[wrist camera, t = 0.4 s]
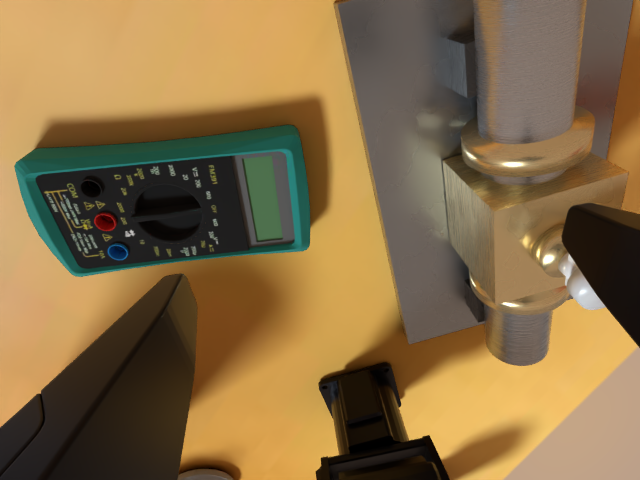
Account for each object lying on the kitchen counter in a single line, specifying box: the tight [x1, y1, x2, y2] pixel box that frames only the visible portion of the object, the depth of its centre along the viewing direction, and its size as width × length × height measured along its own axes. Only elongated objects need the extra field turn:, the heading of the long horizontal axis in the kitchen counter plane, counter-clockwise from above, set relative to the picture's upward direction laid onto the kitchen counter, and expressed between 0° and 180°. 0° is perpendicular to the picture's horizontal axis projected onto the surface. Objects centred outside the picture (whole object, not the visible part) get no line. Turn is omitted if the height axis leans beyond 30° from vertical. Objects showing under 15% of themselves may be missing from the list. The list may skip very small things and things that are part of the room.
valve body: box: [333, 0, 633, 366], centre depth 21 cm, size 24×14×8 cm, turn 15°
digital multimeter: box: [14, 125, 310, 277], centre depth 22 cm, size 7×15×3 cm, turn 93°
